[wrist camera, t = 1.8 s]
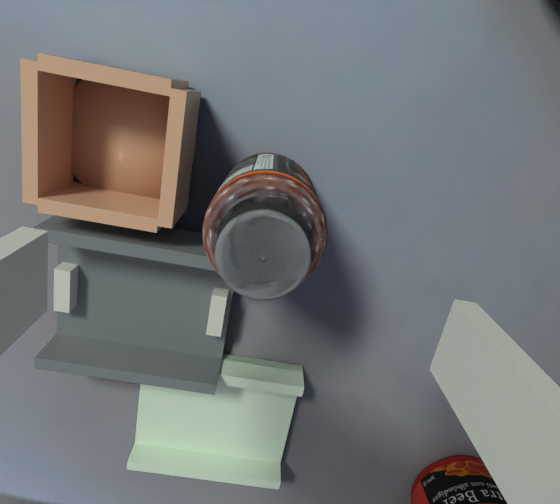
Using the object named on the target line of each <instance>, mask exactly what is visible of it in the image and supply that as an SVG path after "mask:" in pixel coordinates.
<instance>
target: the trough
mask: <svg viewBox="0 0 560 504" xmlns="http://www.w3.org/2000/svg"><path fill="white" fill-rule="evenodd" d="M303 391H304V378H303V368H302V365H296V364H289V363H283V362H276V361H270V360H263V359H257V358H251V357H244V356H238V355H231V354H225V353H223V356H222V361H221V366H220V371H219V376H218V382H217V387H216V392H215V395H211V394H205V393H198V392H191V391H184V390H178V389H171V388H164V387H157V386H151V385H144V384H140V395H139V405H138V416H137V426H136V437H135V444H134V446H133V449H132V451H131V454H130V456H129V459H128V462H127V469H129V470H136V471H143V472H151V473H158V474H166V475H173V476H181V477H188V478H196V479H203V480H211V481H218V482H226V483H233V484H241V485H248V486H256V487H263V488H270V489H278V490H279V487H280V483H281V465H280V463H281V459H282V455H283V451H284V447H285V443H286V439H287V434H288V430H289V426H290V422H291V418H292V414H293V410H294V406H295V402H296V398H297V396H299V397H302V395H303Z"/></svg>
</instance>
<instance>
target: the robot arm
mask: <svg viewBox="0 0 560 504" xmlns="http://www.w3.org/2000/svg"><path fill="white" fill-rule="evenodd" d="M559 1H560V0H559ZM47 272H48V231H45V230H39V229H33V228H27V227H21V228H19V229H17V230H15V231H13V232H11V233H9V234H7V235H6V236H4V237H2V238H0V355H1V354H2V353H3V352H4V351H6V350H7V349H8V348H9V347H10V346H11V345H12V344H13V343H14V342H15V341H16V340H17V339H18V338H19V337H20V336H21V335H22V334H23V333H24V332H25V331H26V330H27V329H28V328H29V327H30V326H31V325H32V324H33V323H34V322H35V321H37V320H38V319H39V318H40V317H41V316H42V315H43V314H44V313H45V312H46V311H47ZM430 370H431V372H432V374H433V376H434V377H435V379H436V381H437V383H438V384H439V386H440V388H441V390H442V391H443V393H444V395H445V396H446V398H447V400H448V402H449V403H450V405H451V407H452V409H453V410H454V412H455V414H456V416H457V417H458V419H459V421H460V422H461V424H462V426H463V428H464V429H465V431H466V433H467V435H468V436H469V438H470V440H471V442H472V443H473V445H474V447H475V448H476V450H477V452H478V454H479V455H480V457H481V459H482V461H483V462H484V464H485V466H486V467H487V469H488V471H489V473H490V474H491V476H492V478H493V480H494V481H495V483H496V485H497V487H498V488H499V490H500V492H501V493H502V495H503V497H504V499H505V500H506V502H507V504H560V387H559V386H558V385H557V384H556V383H555V382H554V381H553V380H552V379H551V378H550V377H549V376H548V375H547V374H546V373H545V372H544V371H543V370H542V369H541V368H540V367H539V366H538V365H537V364H536V363H535V362H534V361H533V360H532V359H531V358H530V357H529V356H528V355H527V354H526V353H525V352H524V351H523V350H522V349H521V348H520V347H519V346H518V345H517V344H516V343H515V342H514V341H513V340H512V339H511V338H510V337H509V336H508V335H507V334H506V333H505V332H504V331H503V329H502V328H501V327H500V326H499V325H498V324H497V323H496V322H495V321H494V320H493V319H492V318H491V317H490V316H489V315H488V314H487V313H486V312H485V311H484V310H483V309H482V308H481V307H480V306H479V305H478V304H477V303H474V302H468V301H462V300H456V299H454V302H453V305H452V308H451V311H450V313H449V316H448V319H447V322H446V324H445V327H444V330H443V333H442V336H441V338H440V341H439V344H438V347H437V349H436V352H435V355H434V358H433V361H432V363H431V366H430Z"/></svg>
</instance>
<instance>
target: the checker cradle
mask: <svg viewBox="0 0 560 504" xmlns="http://www.w3.org/2000/svg"><path fill="white" fill-rule="evenodd" d="M34 229H39V230H45V231H48V243H54V244H59V246H58V266H57V267H56V268H55V269H54V311H57V334H56V335H55V336H54V337H53V338H52V339H51V340H50V342H49V343H48V344H47V345H46V346H45V347H44V348H43V349H42V350H41V351H40V353H39V354H38V355H37V356H36V357H35V368H36V369H43V370H50V371H56V372H63V373H70V374H77V375H83V376H90V377H97V378H104V379H110V380H117V381H124V382H130V383H137V384H144V385H151V386H157V387H164V388H171V389H178V390H184V391H191V392H198V393H205V394H211V395H215V392H216V387H217V382H218V376H219V371H220V366H221V361H222V356H223V350H224V344H225V339H226V333H227V327H228V321H229V315H230V309H231V303H232V297H233V290H232V289H231V288H230V287H229V286H228V285H227V284H226V283H225V282H224V281H223V279H222V278H221V276H220V275H219V274H218V273H217V272H216V271H215V269H214V268H213V266H212V265H211V263H210V261H209V259H208V257H207V255H206V253H205V249H204V245H203V238H202V233H199V232H193V231H188V230H182V229H176V228H172V229H171V228H165V227H161V228H160V230H159V231H158V232H157V233H154V232H148V231H143V230H137V229H131V228H125V227H120V226H114V225H108V224H102V223H97V222H91V221H85V220H79V219H74V218H68V217H62V216H57V215H55V216H53V217H51V218H49V219H48V220H46V221H44V222H42V223H40V224H39V225H37V226H35V227H34Z"/></svg>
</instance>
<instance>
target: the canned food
mask: <svg viewBox="0 0 560 504" xmlns="http://www.w3.org/2000/svg"><path fill="white" fill-rule="evenodd" d="M411 504H507V502H506V500H505V499H504V497H503V495H502V493H501V492H500V490H499V488H498V487H497V485H496V483H495V481H494V480H493V478H492V476H491V474H490V473H489V471H488V469H487V467H486V466H485V464H484V462H483V461H482V460H481V459H478V458H475V457H471V456H451V457H446V458H443V459H440V460H438V461H436V462H434V463H432V464H431V465H429V466H428V467H426V468H425V469H424V470H423V471H422V472H421V473H420V474H419V475H418V477H417V478H416V480H415V481H414V484H413V486H412V491H411Z"/></svg>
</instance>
